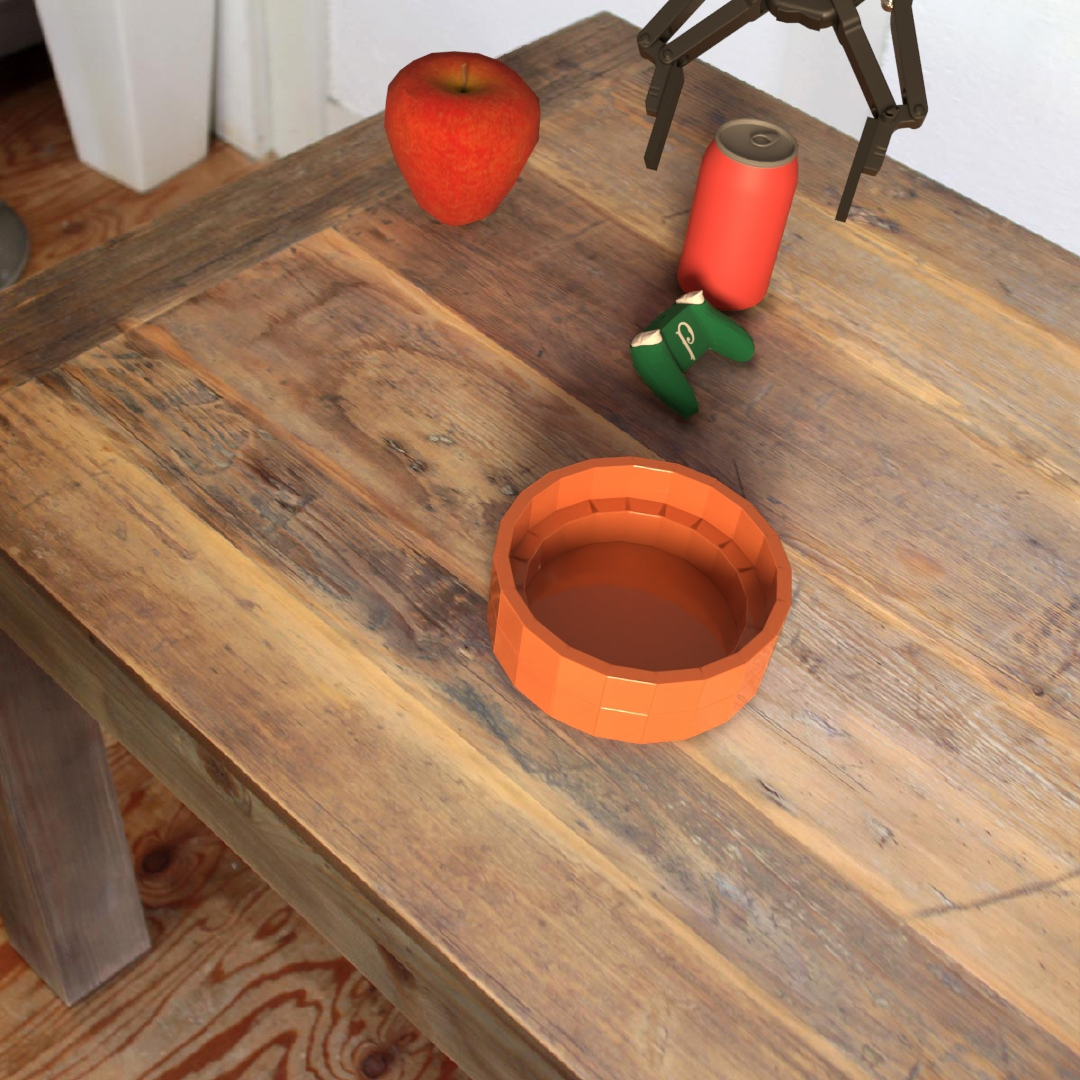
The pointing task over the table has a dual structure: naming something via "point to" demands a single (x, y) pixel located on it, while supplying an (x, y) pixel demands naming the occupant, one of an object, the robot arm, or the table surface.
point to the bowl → (636, 598)
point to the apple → (460, 132)
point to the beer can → (739, 213)
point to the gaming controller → (685, 348)
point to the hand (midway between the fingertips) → (744, 191)
